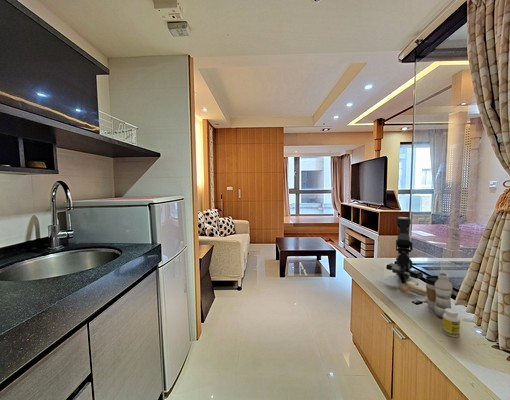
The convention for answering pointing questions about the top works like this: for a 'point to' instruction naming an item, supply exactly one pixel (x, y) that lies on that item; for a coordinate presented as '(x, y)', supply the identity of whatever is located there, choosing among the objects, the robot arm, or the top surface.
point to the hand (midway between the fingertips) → (403, 284)
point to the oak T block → (413, 287)
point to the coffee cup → (431, 290)
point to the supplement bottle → (451, 322)
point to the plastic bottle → (442, 294)
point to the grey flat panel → (396, 282)
